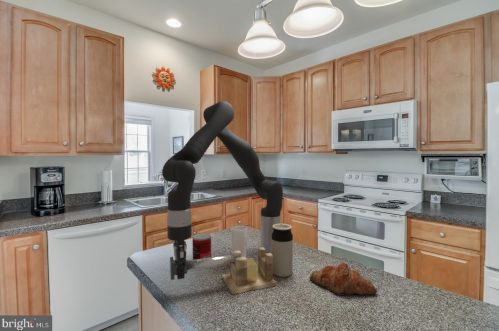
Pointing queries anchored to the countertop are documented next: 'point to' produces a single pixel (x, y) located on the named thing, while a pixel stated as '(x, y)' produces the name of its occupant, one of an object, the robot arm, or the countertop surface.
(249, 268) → the block
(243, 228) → the drinking glass
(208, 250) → the canned food
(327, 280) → the pastry
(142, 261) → the countertop surface
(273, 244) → the travel mug
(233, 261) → the shaft
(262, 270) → the block
